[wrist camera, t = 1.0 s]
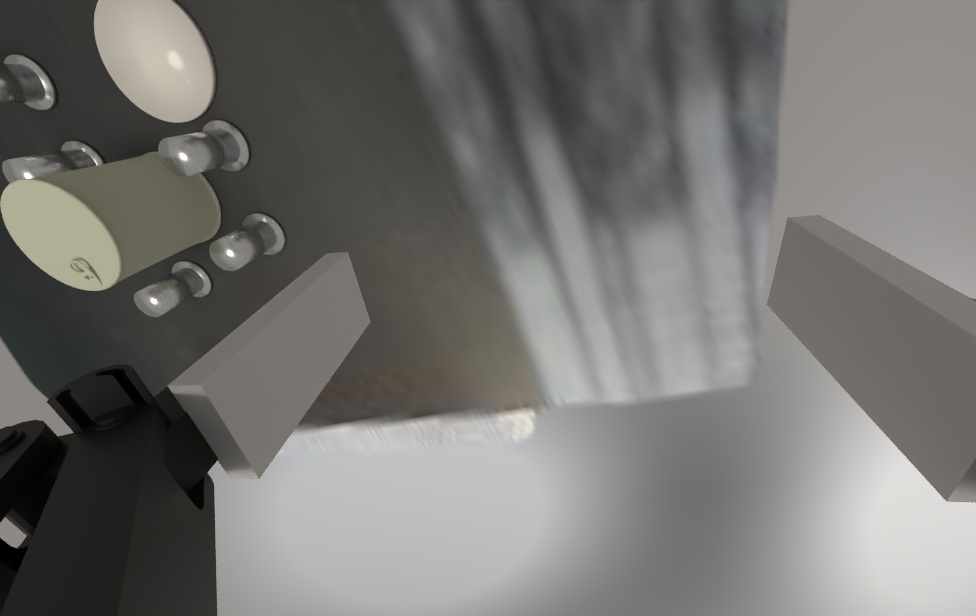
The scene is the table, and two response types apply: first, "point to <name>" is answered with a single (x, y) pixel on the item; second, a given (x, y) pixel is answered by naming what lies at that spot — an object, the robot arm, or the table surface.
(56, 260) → the can
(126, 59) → the beige flat disc
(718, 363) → the table surface
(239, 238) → the posts
